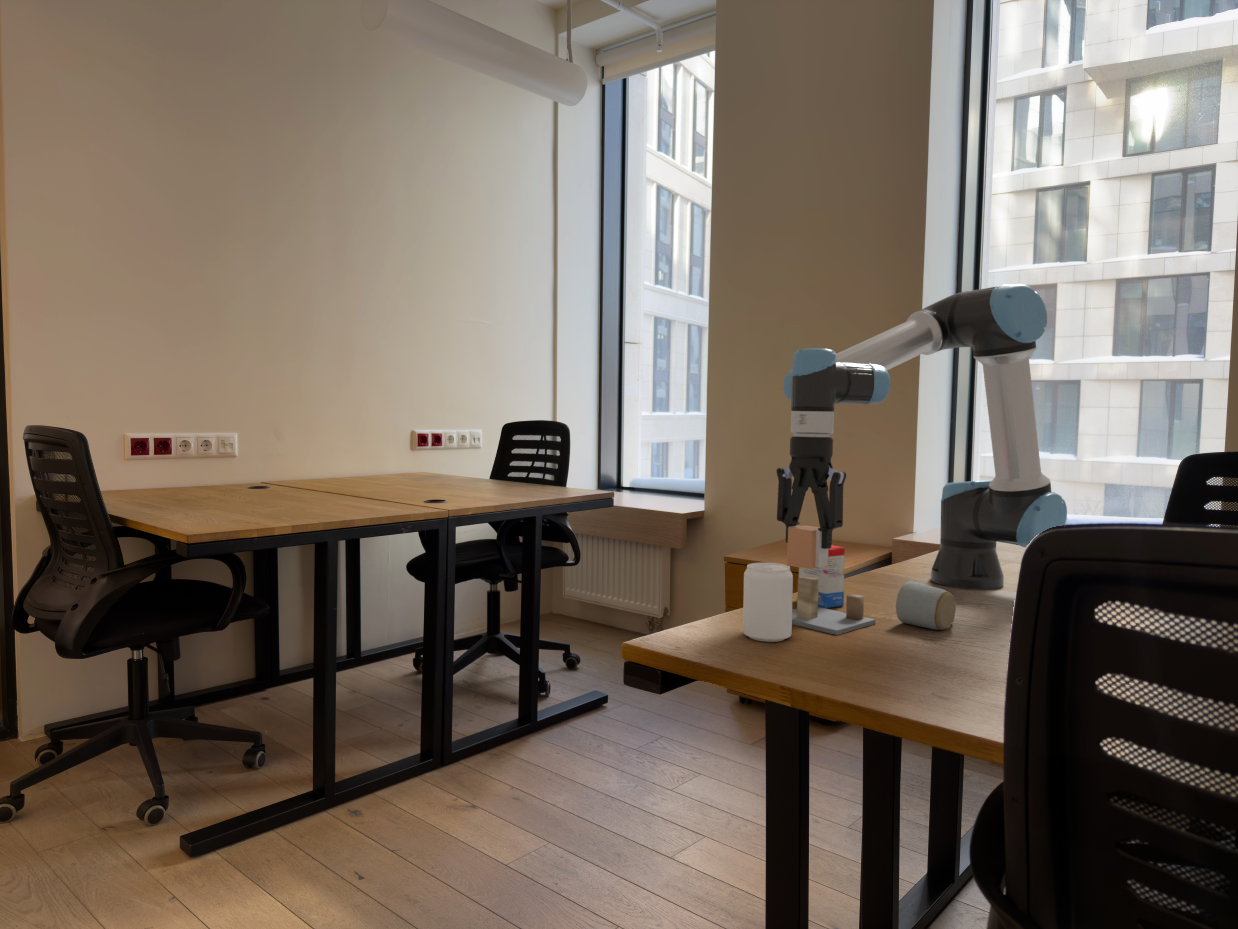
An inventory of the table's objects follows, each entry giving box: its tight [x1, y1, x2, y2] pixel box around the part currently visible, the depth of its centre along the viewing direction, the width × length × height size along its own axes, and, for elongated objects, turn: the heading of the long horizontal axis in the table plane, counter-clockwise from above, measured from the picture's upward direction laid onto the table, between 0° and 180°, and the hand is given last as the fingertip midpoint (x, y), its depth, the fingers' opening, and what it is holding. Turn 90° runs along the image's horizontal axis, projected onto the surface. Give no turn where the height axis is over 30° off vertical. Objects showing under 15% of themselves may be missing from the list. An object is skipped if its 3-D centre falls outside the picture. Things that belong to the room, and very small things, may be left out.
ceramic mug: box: [895, 580, 957, 631], centre depth 146 cm, size 11×8×8 cm
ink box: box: [798, 544, 845, 609], centre depth 162 cm, size 8×5×15 cm, turn 27°
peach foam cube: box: [786, 525, 829, 569], centre depth 148 cm, size 5×5×7 cm
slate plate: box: [792, 593, 876, 636], centre depth 148 cm, size 12×14×5 cm
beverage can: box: [742, 562, 794, 643], centre depth 137 cm, size 8×8×12 cm
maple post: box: [796, 577, 819, 619], centre depth 148 cm, size 3×3×8 cm
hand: (807, 563), depth 148 cm, fingers closed on peach foam cube, 5 cm apart
